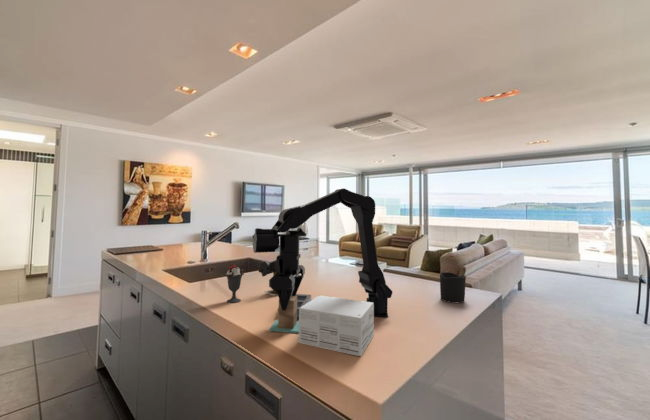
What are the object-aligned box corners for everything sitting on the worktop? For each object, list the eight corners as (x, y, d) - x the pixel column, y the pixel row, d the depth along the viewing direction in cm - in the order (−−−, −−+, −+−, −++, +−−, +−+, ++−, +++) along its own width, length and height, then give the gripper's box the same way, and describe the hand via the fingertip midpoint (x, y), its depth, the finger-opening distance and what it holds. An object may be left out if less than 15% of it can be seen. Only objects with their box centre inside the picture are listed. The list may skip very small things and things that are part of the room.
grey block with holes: (311, 302, 103) (311, 294, 103) (302, 318, 87) (302, 309, 87) (290, 301, 104) (290, 293, 104) (278, 317, 88) (278, 307, 88)
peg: (296, 322, 83) (297, 296, 83) (293, 328, 78) (293, 300, 78) (282, 321, 83) (283, 295, 83) (278, 327, 79) (278, 299, 79)
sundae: (220, 302, 102) (221, 261, 102) (232, 297, 108) (233, 259, 108) (234, 304, 99) (235, 263, 99) (246, 299, 105) (247, 260, 106)
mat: (305, 323, 84) (305, 321, 84) (300, 333, 77) (300, 331, 77) (276, 321, 85) (276, 319, 85) (268, 330, 78) (269, 329, 78)
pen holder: (461, 297, 114) (461, 273, 114) (468, 304, 105) (469, 278, 105) (437, 295, 116) (437, 271, 116) (442, 302, 107) (443, 276, 107)
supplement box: (374, 335, 76) (374, 301, 77) (361, 358, 64) (361, 317, 64) (319, 325, 83) (319, 293, 83) (297, 343, 71) (298, 306, 71)
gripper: (272, 246, 91) (271, 294, 91) (250, 255, 73) (249, 314, 72) (305, 248, 90) (304, 296, 90) (292, 256, 71) (290, 317, 71)
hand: (288, 304), depth 81 cm, fingers open, 9 cm apart
